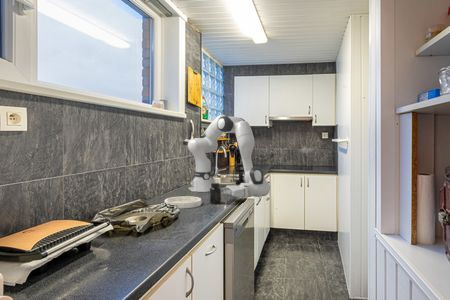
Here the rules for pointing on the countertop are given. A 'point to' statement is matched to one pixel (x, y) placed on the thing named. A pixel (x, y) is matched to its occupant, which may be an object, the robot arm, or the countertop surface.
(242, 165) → the french press
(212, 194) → the supplement bottle
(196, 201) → the ceramic bowl
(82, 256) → the countertop surface
